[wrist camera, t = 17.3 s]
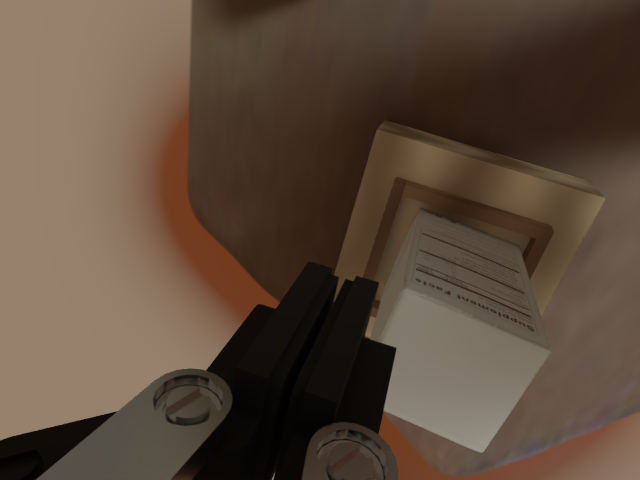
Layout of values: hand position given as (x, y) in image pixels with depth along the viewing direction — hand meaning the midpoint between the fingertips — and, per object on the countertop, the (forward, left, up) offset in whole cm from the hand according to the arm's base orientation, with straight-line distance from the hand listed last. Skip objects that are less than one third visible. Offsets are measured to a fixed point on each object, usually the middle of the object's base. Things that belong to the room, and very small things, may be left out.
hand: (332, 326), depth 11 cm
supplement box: (-5, +8, -23) cm, 25 cm away
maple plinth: (-5, +8, -27) cm, 29 cm away
